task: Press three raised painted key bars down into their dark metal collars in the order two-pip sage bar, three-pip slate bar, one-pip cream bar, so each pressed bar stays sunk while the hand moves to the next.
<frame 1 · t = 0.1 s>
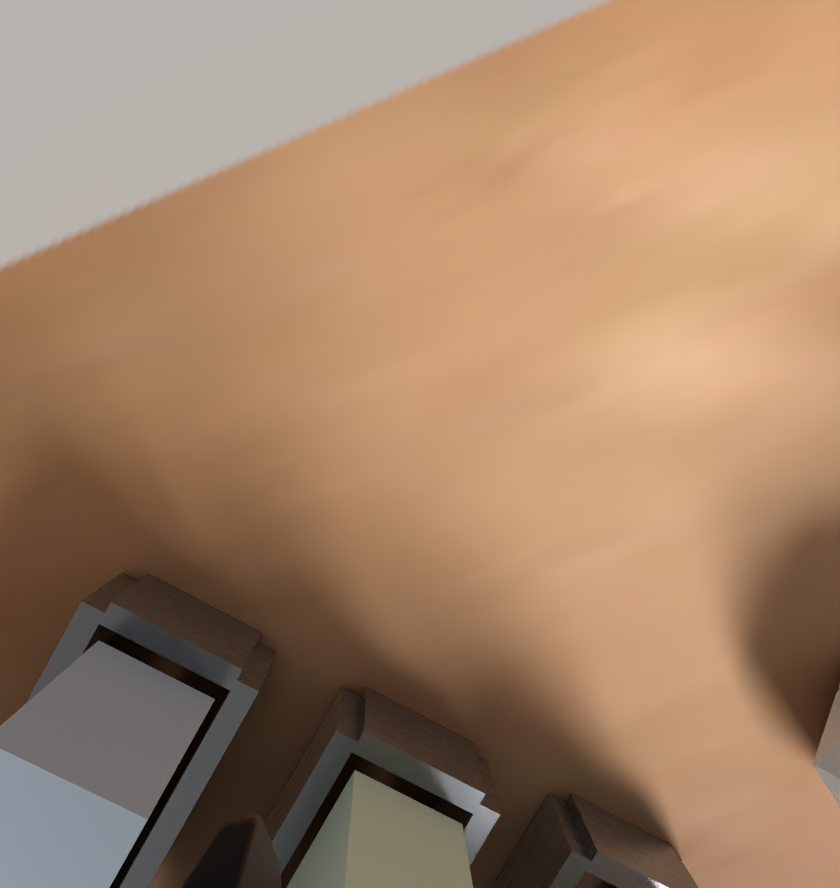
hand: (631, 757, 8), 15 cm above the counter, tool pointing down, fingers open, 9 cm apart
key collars: (334, 861, 24), on the counter
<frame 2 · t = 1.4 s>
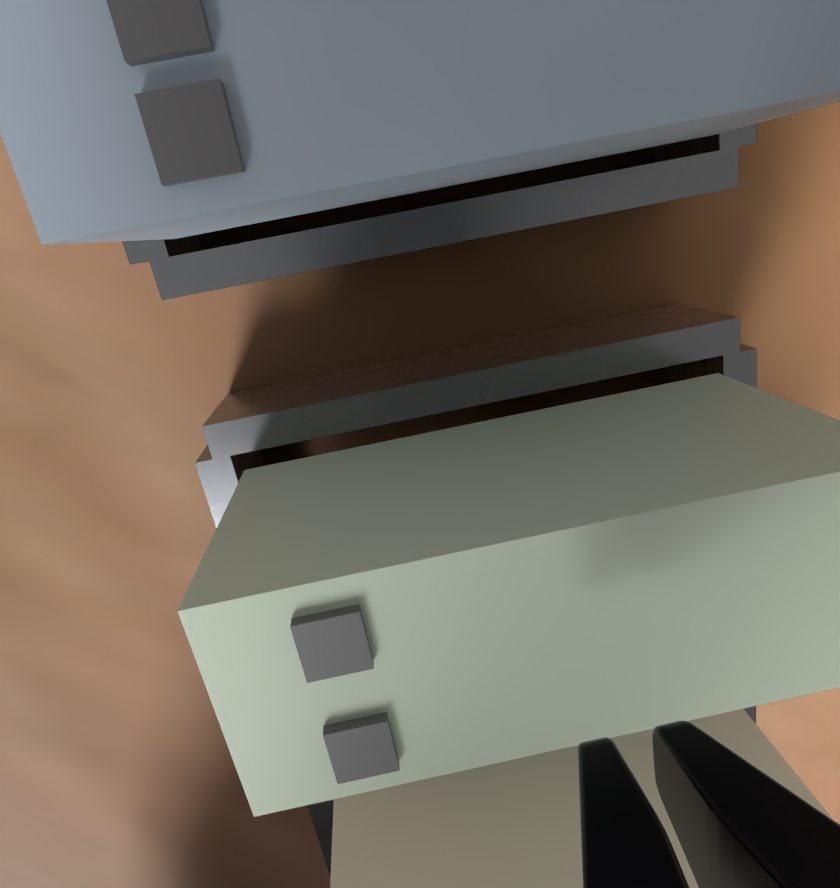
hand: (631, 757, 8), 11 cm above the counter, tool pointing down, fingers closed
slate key: (451, 27, 9), point 6 cm above the counter, slide at 3.0 cm
sage key: (527, 559, 12), point 6 cm above the counter, slide at 3.0 cm
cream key: (572, 879, 15), point 6 cm above the counter, slide at 3.0 cm
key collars: (472, 453, 18), on the counter
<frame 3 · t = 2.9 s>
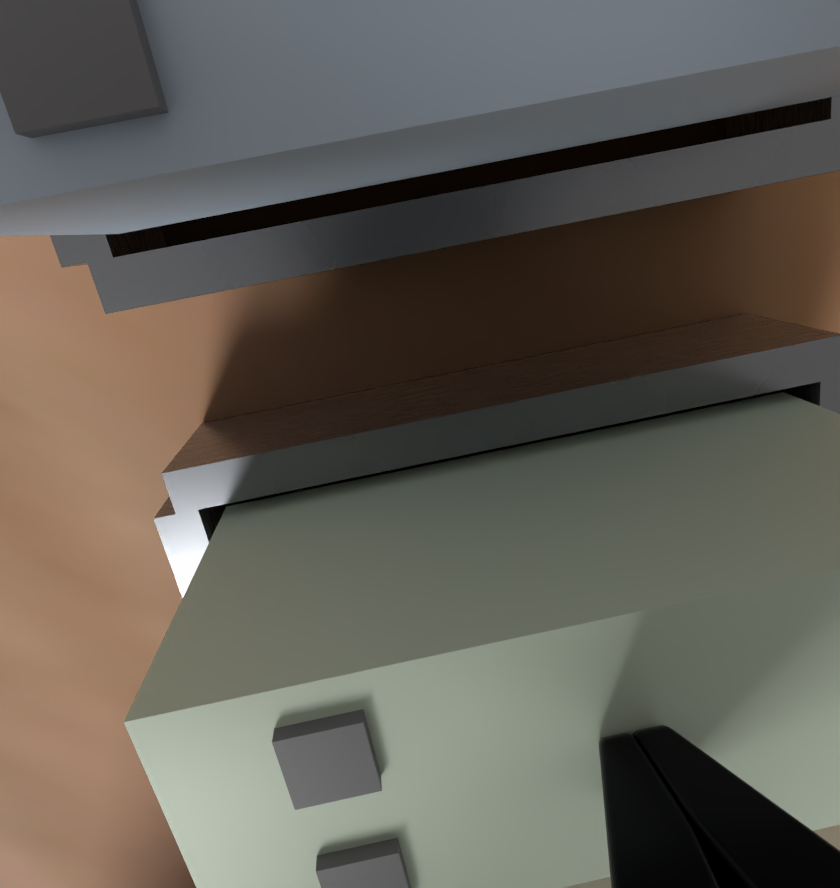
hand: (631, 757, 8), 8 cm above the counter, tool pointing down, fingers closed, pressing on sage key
sage key: (565, 622, 10), point 5 cm above the counter, slide at 2.1 cm, touching gripper
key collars: (496, 492, 15), on the counter
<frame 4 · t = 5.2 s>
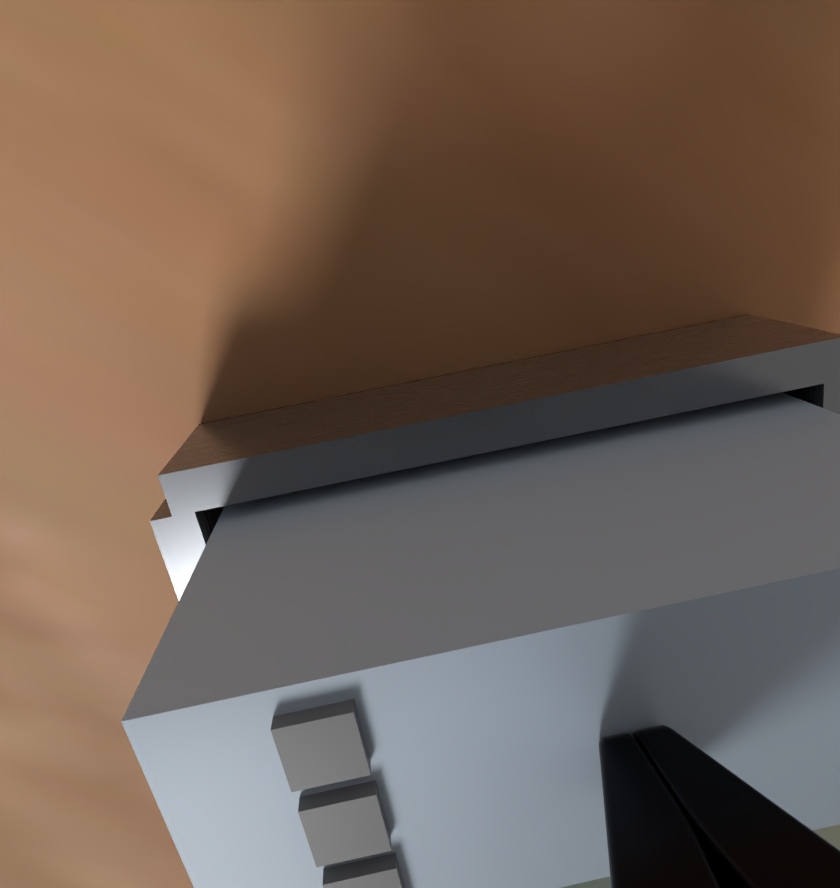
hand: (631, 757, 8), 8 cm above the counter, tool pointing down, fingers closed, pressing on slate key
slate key: (563, 622, 10), point 5 cm above the counter, slide at 1.9 cm, touching gripper
sage key: (574, 883, 15), point 3 cm above the counter, slide at -0.1 cm
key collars: (539, 777, 18), on the counter
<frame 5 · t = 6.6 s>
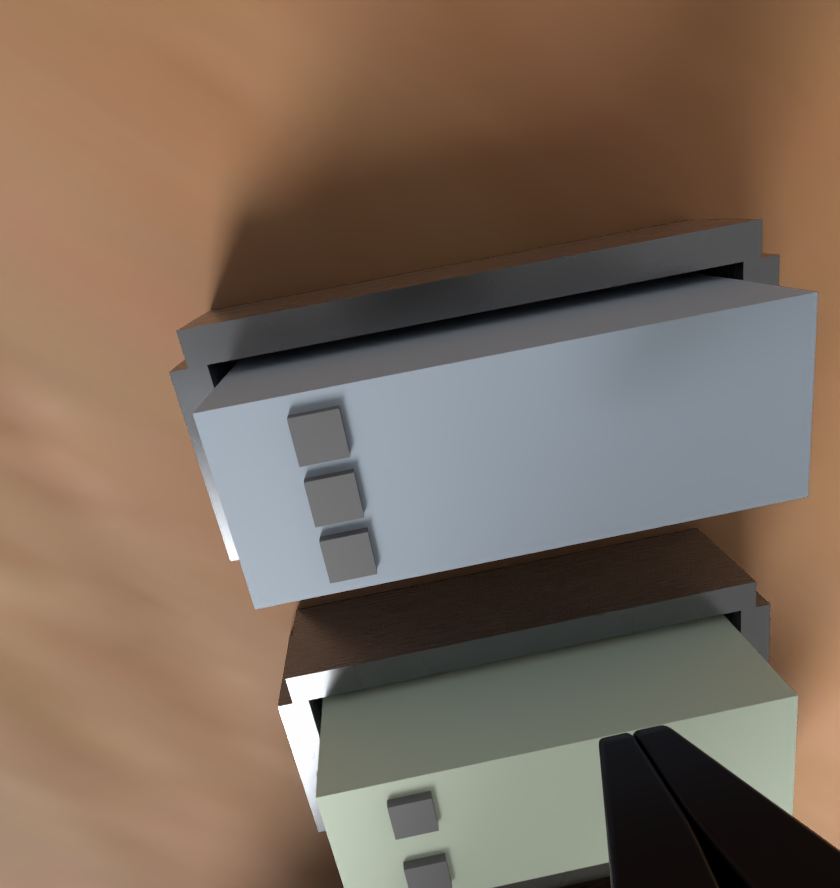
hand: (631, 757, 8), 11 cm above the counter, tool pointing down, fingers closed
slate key: (493, 415, 14), point 3 cm above the counter, slide at -0.1 cm
sage key: (537, 724, 17), point 3 cm above the counter, slide at -0.1 cm
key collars: (511, 651, 20), on the counter
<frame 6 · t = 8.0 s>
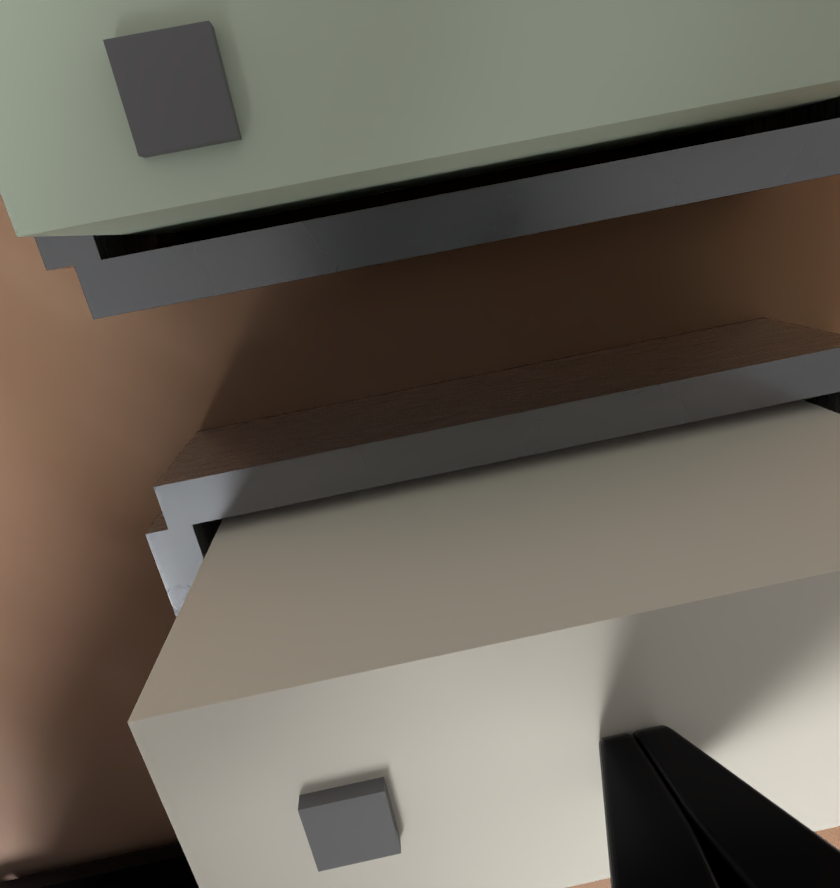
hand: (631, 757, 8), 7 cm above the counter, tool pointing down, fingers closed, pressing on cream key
sage key: (464, 4, 8), point 3 cm above the counter, slide at -0.1 cm
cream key: (567, 623, 10), point 5 cm above the counter, slide at 1.5 cm, touching gripper
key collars: (437, 61, 11), on the counter
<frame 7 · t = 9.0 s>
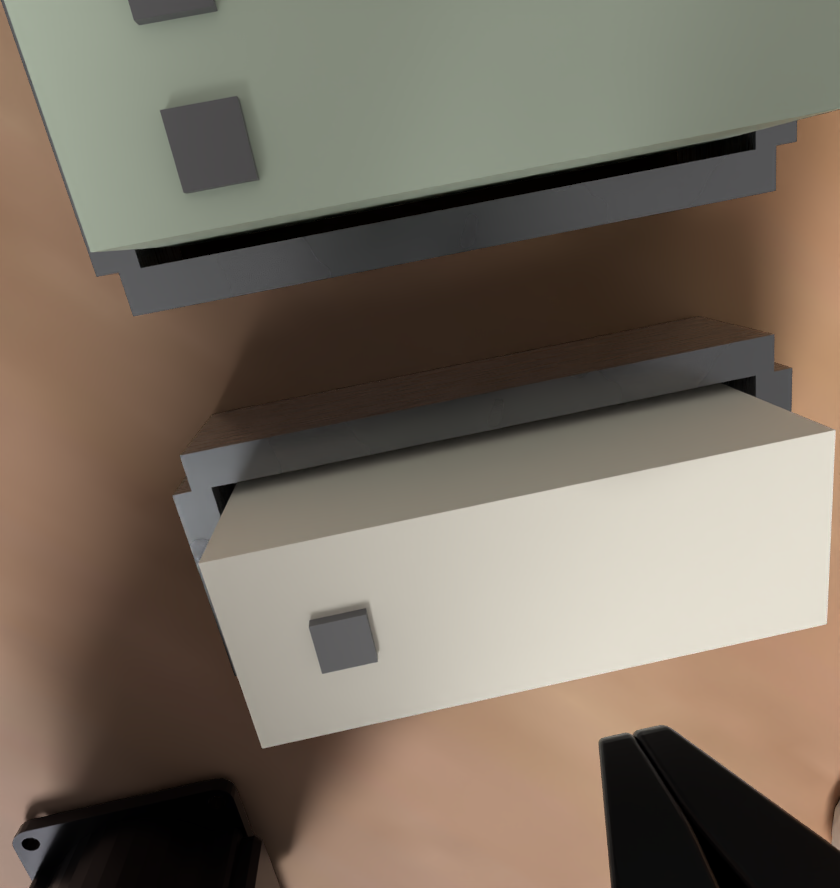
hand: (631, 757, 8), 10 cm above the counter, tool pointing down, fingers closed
sage key: (432, 65, 11), point 3 cm above the counter, slide at -0.1 cm
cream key: (503, 529, 14), point 3 cm above the counter, slide at -0.1 cm
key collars: (415, 101, 14), on the counter
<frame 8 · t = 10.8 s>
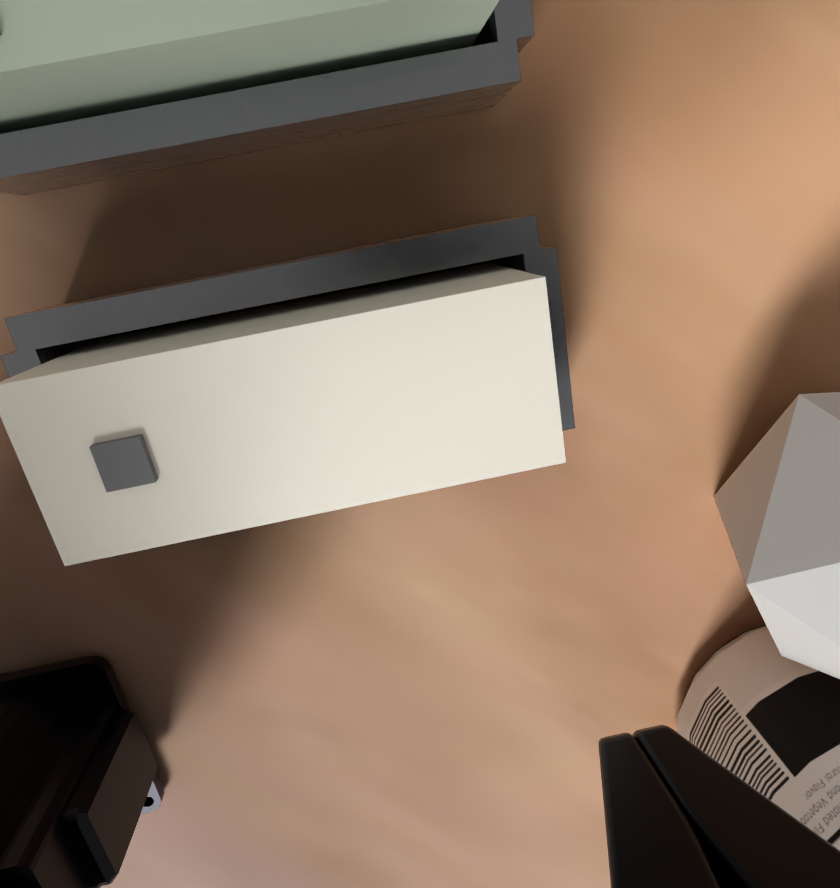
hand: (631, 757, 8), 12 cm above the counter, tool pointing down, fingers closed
supplement can: (766, 695, 24), on the counter
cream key: (305, 395, 15), point 3 cm above the counter, slide at -0.1 cm
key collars: (226, 12, 15), on the counter
grey angular block: (796, 479, 21), on the counter
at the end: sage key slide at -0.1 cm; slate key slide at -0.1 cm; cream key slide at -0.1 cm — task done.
